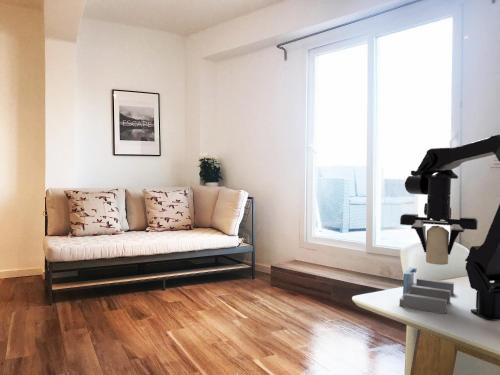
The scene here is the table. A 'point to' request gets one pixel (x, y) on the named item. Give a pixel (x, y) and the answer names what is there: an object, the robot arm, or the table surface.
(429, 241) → the candle
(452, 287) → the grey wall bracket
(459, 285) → the table surface
